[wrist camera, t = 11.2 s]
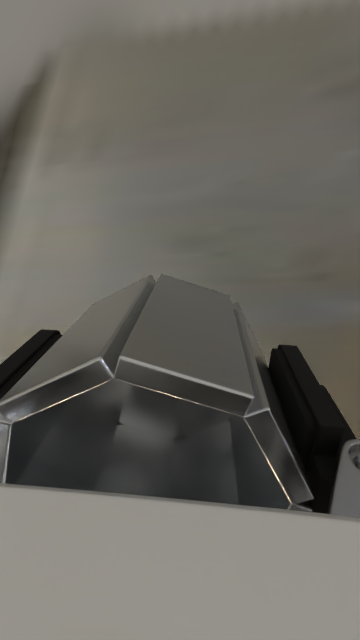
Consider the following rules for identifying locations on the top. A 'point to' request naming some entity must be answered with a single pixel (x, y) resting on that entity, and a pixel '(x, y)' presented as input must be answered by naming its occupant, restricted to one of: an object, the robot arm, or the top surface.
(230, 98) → the top surface
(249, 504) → the grey octagonal hollow piece
